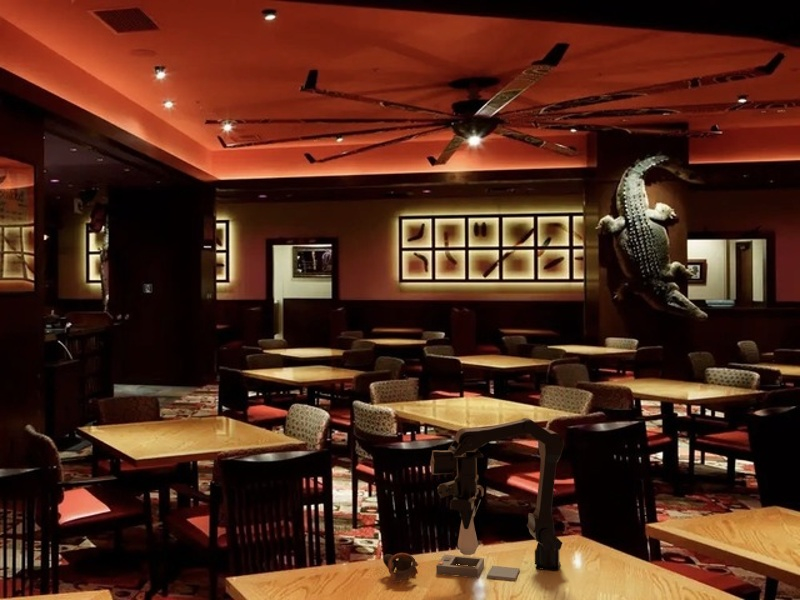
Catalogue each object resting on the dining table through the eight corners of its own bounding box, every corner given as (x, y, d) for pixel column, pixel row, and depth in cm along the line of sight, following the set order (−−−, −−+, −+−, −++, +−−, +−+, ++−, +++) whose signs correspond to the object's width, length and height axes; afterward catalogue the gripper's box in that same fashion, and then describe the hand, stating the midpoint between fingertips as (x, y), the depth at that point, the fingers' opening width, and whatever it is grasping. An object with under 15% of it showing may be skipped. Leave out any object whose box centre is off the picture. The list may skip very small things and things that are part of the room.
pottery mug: (426, 577, 225) (424, 558, 221) (406, 601, 219) (404, 581, 214) (392, 559, 231) (390, 539, 227) (372, 581, 225) (370, 561, 221)
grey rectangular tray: (484, 566, 232) (484, 557, 232) (477, 578, 223) (477, 568, 223) (444, 562, 235) (444, 553, 235) (436, 573, 226) (436, 564, 226)
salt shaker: (476, 556, 225) (476, 511, 225) (456, 555, 226) (456, 510, 226) (478, 549, 231) (478, 505, 231) (459, 548, 232) (458, 504, 232)
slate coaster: (519, 571, 228) (519, 568, 228) (515, 580, 220) (515, 577, 220) (492, 568, 230) (492, 565, 230) (487, 577, 223) (487, 575, 223)
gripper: (447, 464, 239) (448, 516, 240) (431, 478, 222) (432, 534, 222) (483, 466, 236) (484, 518, 236) (470, 481, 218) (471, 537, 219)
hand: (467, 526), depth 228 cm, fingers closed on salt shaker, 4 cm apart
